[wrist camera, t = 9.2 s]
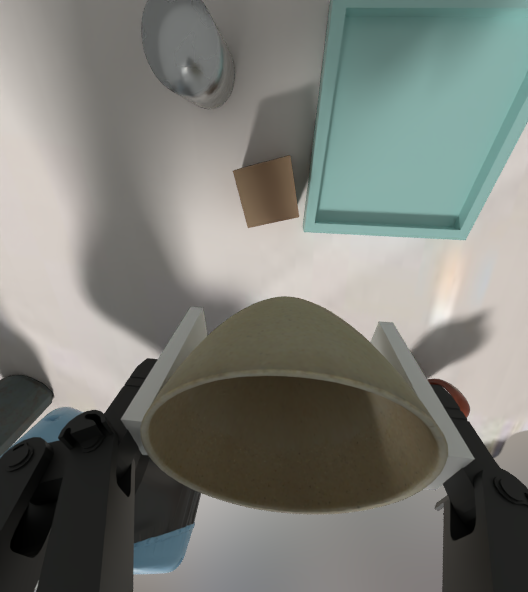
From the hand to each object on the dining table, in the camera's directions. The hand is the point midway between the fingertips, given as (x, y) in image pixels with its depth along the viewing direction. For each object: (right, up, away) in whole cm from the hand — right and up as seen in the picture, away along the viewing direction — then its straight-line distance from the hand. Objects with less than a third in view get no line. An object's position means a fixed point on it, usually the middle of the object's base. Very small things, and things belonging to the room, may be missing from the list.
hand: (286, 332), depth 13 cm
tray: (+12, +17, +8) cm, 22 cm away
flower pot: (0, 0, 0) cm, 1 cm away
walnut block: (-1, +14, +11) cm, 18 cm away
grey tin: (-6, +22, +6) cm, 24 cm away
